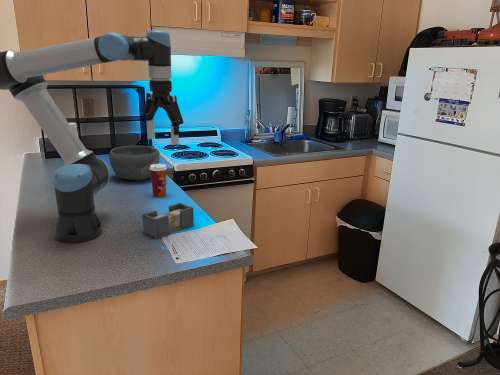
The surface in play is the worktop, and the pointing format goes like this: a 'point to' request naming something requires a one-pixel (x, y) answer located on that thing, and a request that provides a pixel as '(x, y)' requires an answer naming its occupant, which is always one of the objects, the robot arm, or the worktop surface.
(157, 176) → the paper cup
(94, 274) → the worktop surface
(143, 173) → the bowl
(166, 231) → the end caps
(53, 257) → the worktop surface
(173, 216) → the beige mottled block
